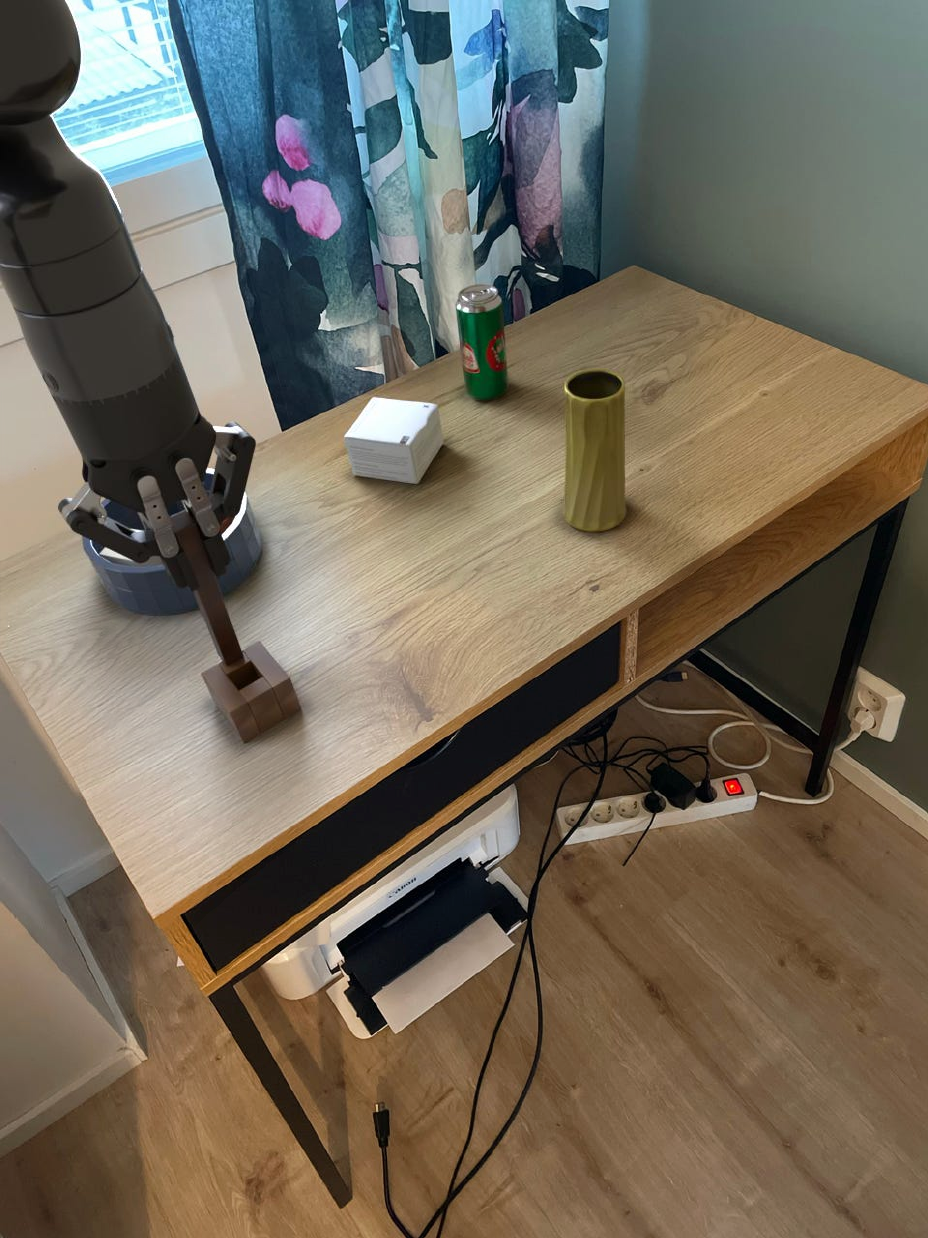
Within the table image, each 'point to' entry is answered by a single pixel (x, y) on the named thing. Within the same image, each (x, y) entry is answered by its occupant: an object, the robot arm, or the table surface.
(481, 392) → the soda can
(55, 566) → the table surface
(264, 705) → the stick stand
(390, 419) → the small box
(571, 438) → the vase
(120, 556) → the cream block
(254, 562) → the bowl
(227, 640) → the stirring stick
